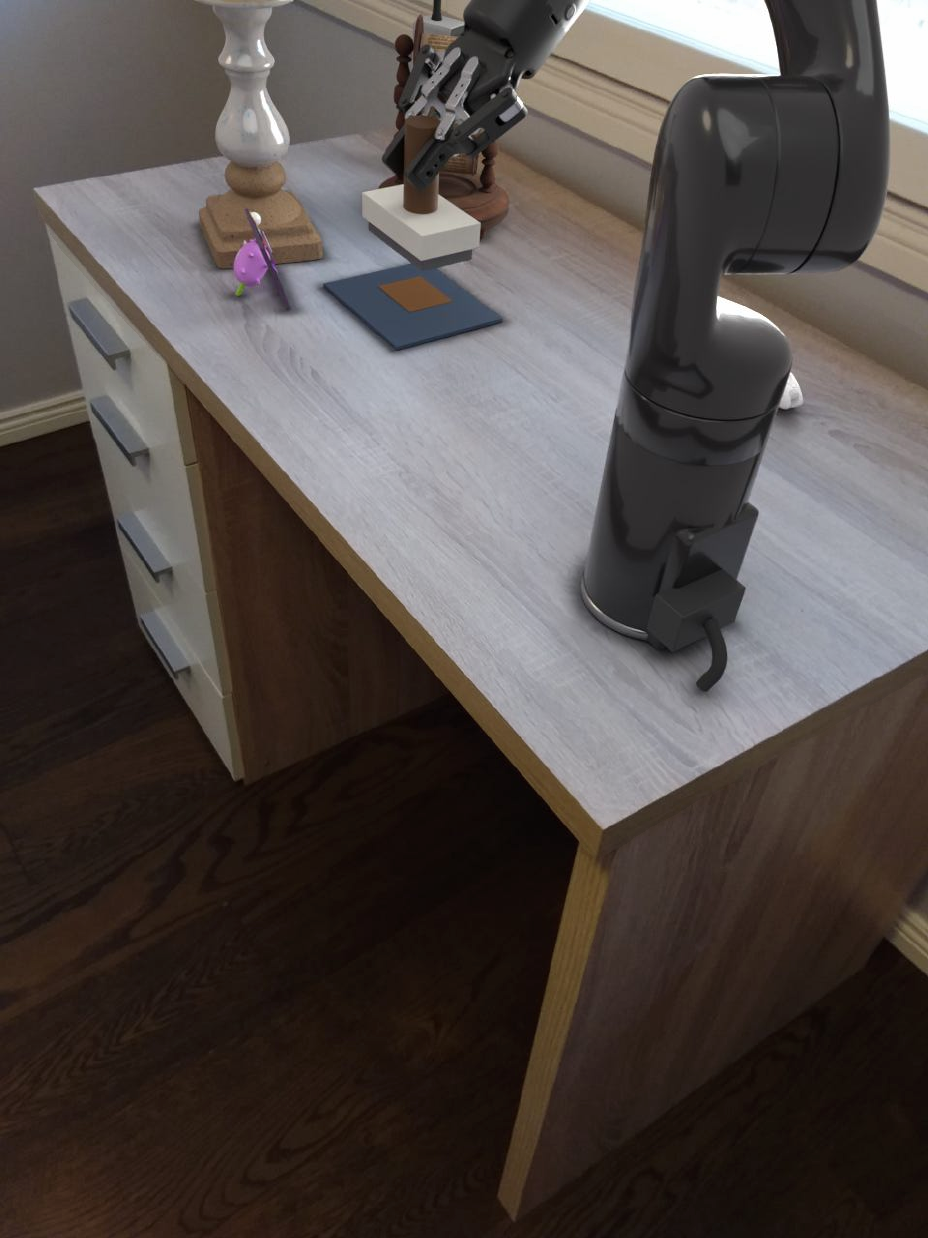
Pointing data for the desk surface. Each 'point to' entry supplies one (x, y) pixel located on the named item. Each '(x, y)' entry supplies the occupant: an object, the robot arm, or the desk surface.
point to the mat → (411, 305)
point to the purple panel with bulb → (255, 260)
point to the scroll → (459, 172)
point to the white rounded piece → (791, 394)
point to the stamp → (420, 212)
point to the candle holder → (253, 149)
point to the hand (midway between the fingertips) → (401, 175)
